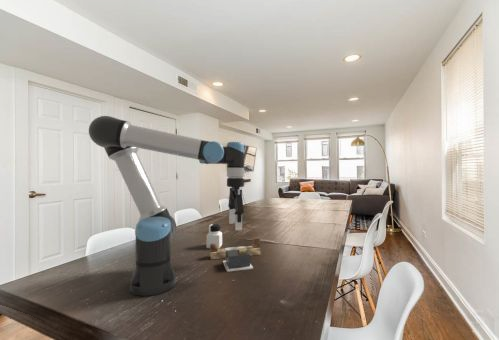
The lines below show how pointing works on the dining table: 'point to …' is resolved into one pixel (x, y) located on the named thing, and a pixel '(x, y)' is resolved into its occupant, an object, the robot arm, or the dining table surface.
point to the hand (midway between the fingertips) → (235, 226)
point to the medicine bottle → (214, 235)
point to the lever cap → (237, 258)
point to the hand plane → (221, 253)
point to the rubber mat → (236, 268)
